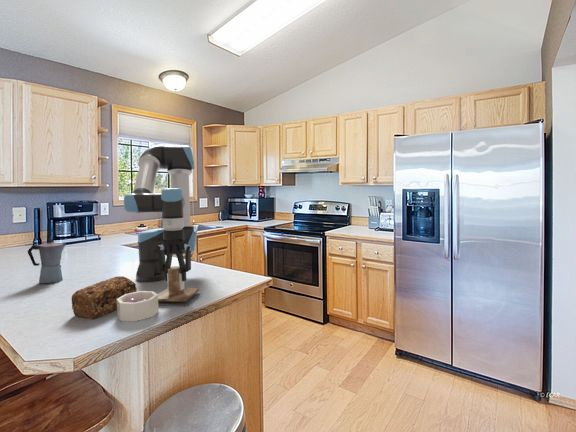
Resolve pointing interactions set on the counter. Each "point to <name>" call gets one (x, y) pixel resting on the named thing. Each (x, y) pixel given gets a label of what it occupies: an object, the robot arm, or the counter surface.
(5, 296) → the counter surface
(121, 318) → the bowl
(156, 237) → the robot arm
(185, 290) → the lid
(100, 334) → the counter surface
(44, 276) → the moka pot
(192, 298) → the mat
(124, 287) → the bread
